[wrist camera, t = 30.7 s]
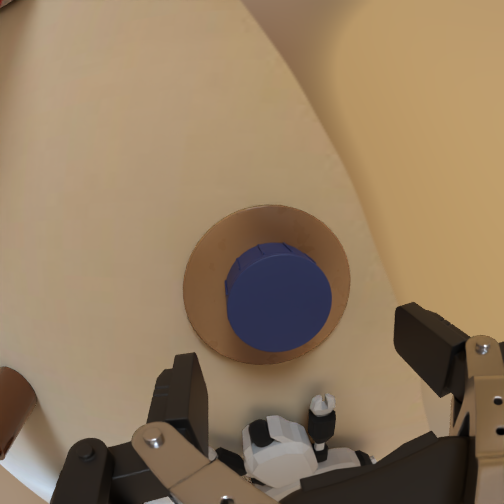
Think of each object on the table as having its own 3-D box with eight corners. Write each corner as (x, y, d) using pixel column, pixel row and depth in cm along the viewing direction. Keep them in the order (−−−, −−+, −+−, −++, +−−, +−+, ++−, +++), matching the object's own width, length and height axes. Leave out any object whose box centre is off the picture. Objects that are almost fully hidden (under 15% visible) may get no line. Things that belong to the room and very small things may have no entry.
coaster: (204, 371, 19) (204, 376, 18) (167, 221, 16) (165, 223, 16) (349, 340, 20) (352, 345, 19) (339, 193, 17) (344, 193, 17)
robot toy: (184, 428, 21) (268, 504, 24) (178, 467, 17) (273, 536, 20) (324, 364, 21) (374, 459, 24) (344, 399, 16) (390, 488, 19)
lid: (209, 308, 17) (209, 330, 15) (252, 225, 16) (258, 235, 14) (288, 340, 18) (299, 364, 16) (332, 266, 18) (350, 281, 15)
